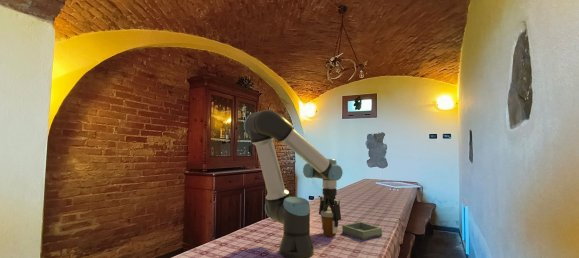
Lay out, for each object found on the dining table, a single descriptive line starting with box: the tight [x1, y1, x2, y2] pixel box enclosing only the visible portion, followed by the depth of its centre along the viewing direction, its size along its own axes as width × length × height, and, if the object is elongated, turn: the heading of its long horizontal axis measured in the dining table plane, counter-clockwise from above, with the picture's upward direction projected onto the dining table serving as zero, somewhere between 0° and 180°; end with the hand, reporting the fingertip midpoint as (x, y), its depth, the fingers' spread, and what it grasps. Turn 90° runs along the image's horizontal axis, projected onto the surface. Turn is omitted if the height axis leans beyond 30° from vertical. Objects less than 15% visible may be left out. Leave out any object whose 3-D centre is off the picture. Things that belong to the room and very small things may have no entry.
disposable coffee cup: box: [320, 209, 337, 237], centre depth 156 cm, size 10×10×12 cm
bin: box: [341, 221, 383, 241], centre depth 157 cm, size 14×15×4 cm
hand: (329, 230), depth 156 cm, fingers closed on disposable coffee cup, 8 cm apart
